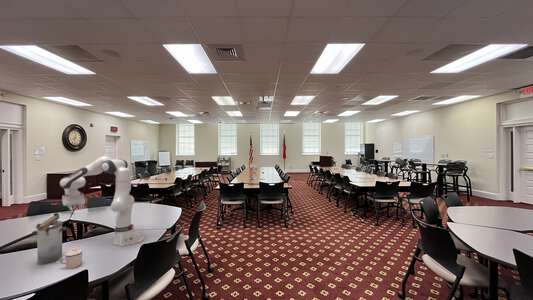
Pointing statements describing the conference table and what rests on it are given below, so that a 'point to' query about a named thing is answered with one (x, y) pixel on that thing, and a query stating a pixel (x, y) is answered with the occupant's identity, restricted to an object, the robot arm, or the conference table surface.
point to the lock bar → (48, 222)
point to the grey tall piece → (49, 243)
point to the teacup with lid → (73, 258)
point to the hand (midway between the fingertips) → (76, 209)
